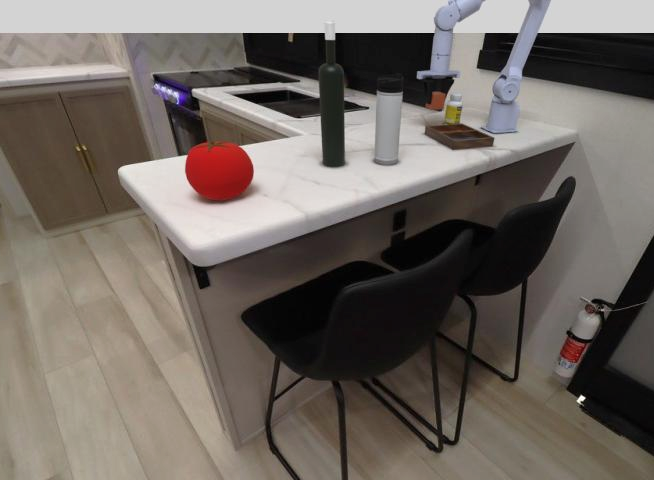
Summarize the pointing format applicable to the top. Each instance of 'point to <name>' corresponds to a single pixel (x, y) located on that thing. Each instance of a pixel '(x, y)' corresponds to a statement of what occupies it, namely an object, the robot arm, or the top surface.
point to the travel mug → (388, 118)
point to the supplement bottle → (453, 109)
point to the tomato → (219, 170)
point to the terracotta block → (437, 101)
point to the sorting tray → (459, 136)
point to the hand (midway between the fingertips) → (435, 103)
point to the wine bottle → (332, 104)
